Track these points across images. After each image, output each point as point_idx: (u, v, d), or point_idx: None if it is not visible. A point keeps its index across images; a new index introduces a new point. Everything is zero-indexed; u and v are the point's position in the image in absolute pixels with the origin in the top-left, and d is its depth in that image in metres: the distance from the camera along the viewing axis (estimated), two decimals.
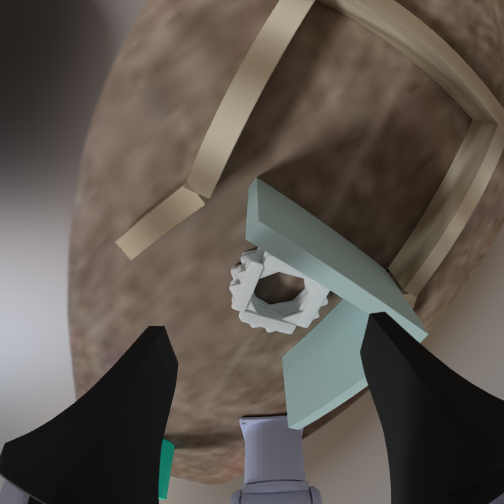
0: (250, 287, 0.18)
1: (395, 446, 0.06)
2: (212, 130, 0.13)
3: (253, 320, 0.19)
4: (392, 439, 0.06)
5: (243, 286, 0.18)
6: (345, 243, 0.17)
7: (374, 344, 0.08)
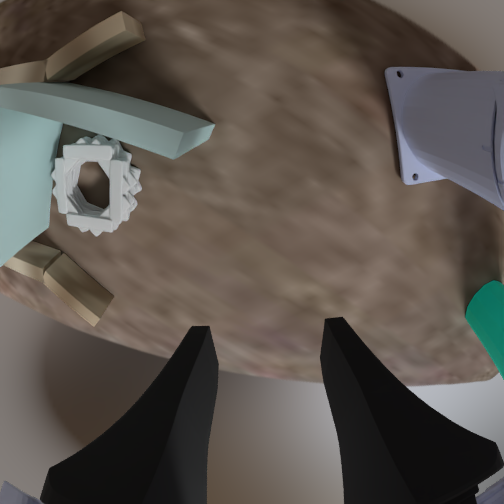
0: (85, 220, 0.16)
1: (346, 458, 0.06)
2: (18, 270, 0.17)
3: (116, 209, 0.16)
4: (344, 450, 0.06)
5: (88, 226, 0.17)
6: None
7: (328, 351, 0.08)
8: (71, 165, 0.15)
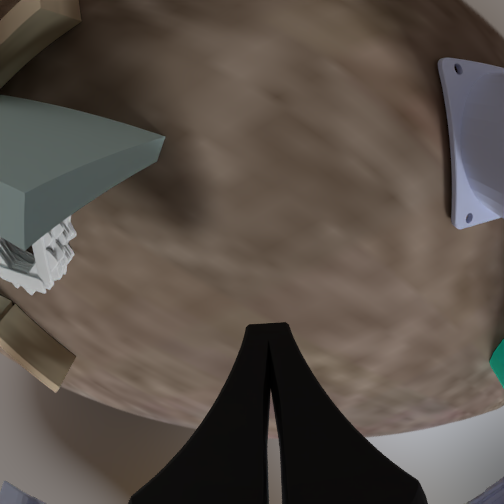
0: (15, 276, 0.10)
1: (281, 467, 0.06)
2: None
3: (42, 266, 0.10)
4: None
5: (19, 283, 0.11)
6: None
7: (269, 356, 0.08)
8: None
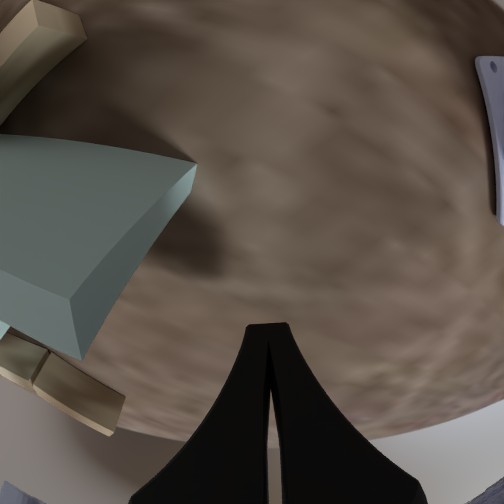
0: None
1: (281, 467, 0.06)
2: (5, 376, 0.12)
3: None
4: None
5: None
6: None
7: (269, 356, 0.08)
8: None
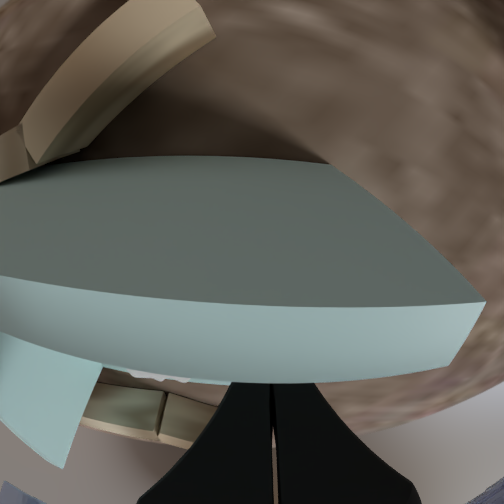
0: None
1: (277, 467, 0.06)
2: (113, 431, 0.13)
3: None
4: None
5: (167, 376, 0.11)
6: None
7: None
8: None
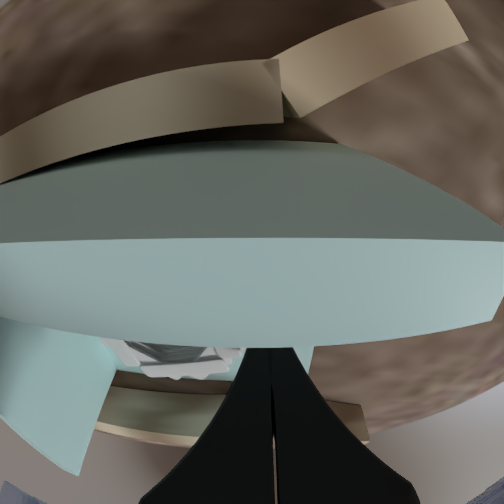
0: (176, 368, 0.11)
1: (276, 467, 0.06)
2: None
3: None
4: None
5: (183, 373, 0.11)
6: None
7: None
8: None
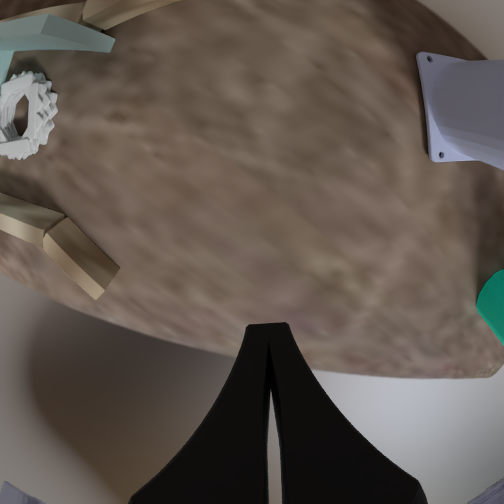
0: (11, 145, 0.13)
1: (281, 467, 0.06)
2: (15, 233, 0.15)
3: (32, 126, 0.13)
4: None
5: (12, 150, 0.13)
6: None
7: (269, 356, 0.08)
8: (5, 99, 0.12)
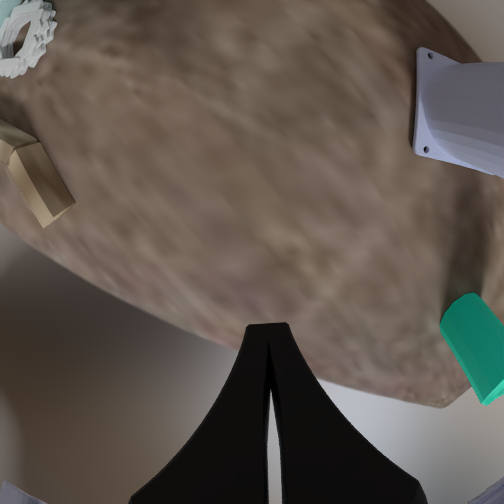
0: (4, 62, 0.10)
1: (281, 467, 0.06)
2: None
3: (26, 46, 0.10)
4: None
5: (3, 67, 0.10)
6: None
7: (269, 356, 0.08)
8: (12, 21, 0.08)
